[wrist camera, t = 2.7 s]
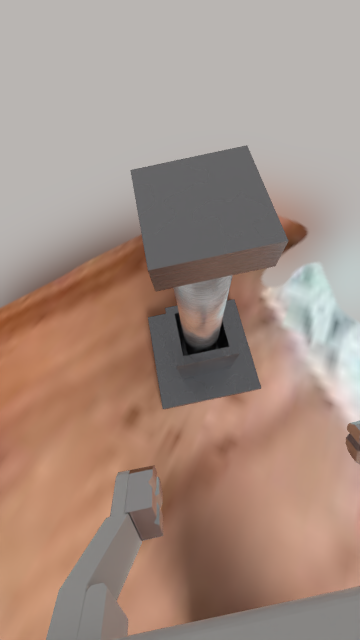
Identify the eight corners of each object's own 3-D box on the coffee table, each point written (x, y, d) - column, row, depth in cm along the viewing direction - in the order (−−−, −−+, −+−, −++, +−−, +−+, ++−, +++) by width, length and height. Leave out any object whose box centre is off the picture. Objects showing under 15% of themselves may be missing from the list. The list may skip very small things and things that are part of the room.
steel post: (215, 327, 33) (246, 145, 11) (225, 364, 31) (288, 240, 9) (177, 335, 33) (130, 170, 11) (185, 373, 31) (148, 270, 9)
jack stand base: (232, 303, 36) (245, 260, 26) (258, 389, 31) (286, 377, 21) (150, 321, 36) (130, 284, 26) (164, 409, 31) (147, 406, 21)
